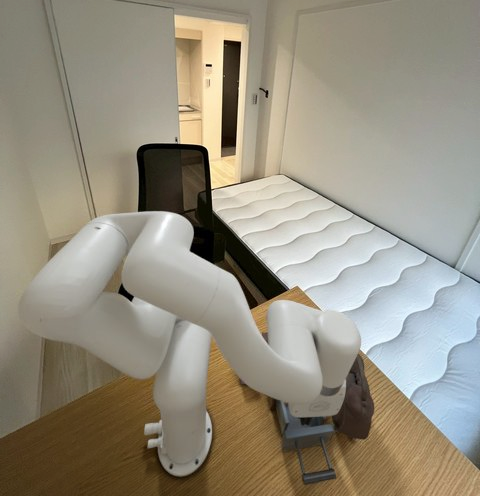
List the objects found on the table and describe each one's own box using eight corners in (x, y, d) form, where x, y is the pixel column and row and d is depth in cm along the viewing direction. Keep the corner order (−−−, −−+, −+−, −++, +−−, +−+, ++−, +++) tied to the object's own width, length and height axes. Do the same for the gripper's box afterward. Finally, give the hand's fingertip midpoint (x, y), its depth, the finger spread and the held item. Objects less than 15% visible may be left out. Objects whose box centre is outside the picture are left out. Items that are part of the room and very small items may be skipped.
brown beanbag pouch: (362, 456, 57) (391, 415, 49) (331, 446, 58) (353, 404, 50) (350, 384, 70) (371, 341, 62) (324, 377, 71) (341, 334, 63)
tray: (340, 484, 53) (349, 471, 50) (290, 494, 51) (296, 482, 48) (306, 377, 70) (310, 364, 67) (268, 382, 68) (271, 368, 66)
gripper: (288, 395, 41) (272, 442, 49) (371, 392, 42) (343, 438, 50) (278, 348, 48) (266, 396, 56) (350, 346, 49) (328, 393, 57)
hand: (302, 416), depth 53 cm, fingers closed
